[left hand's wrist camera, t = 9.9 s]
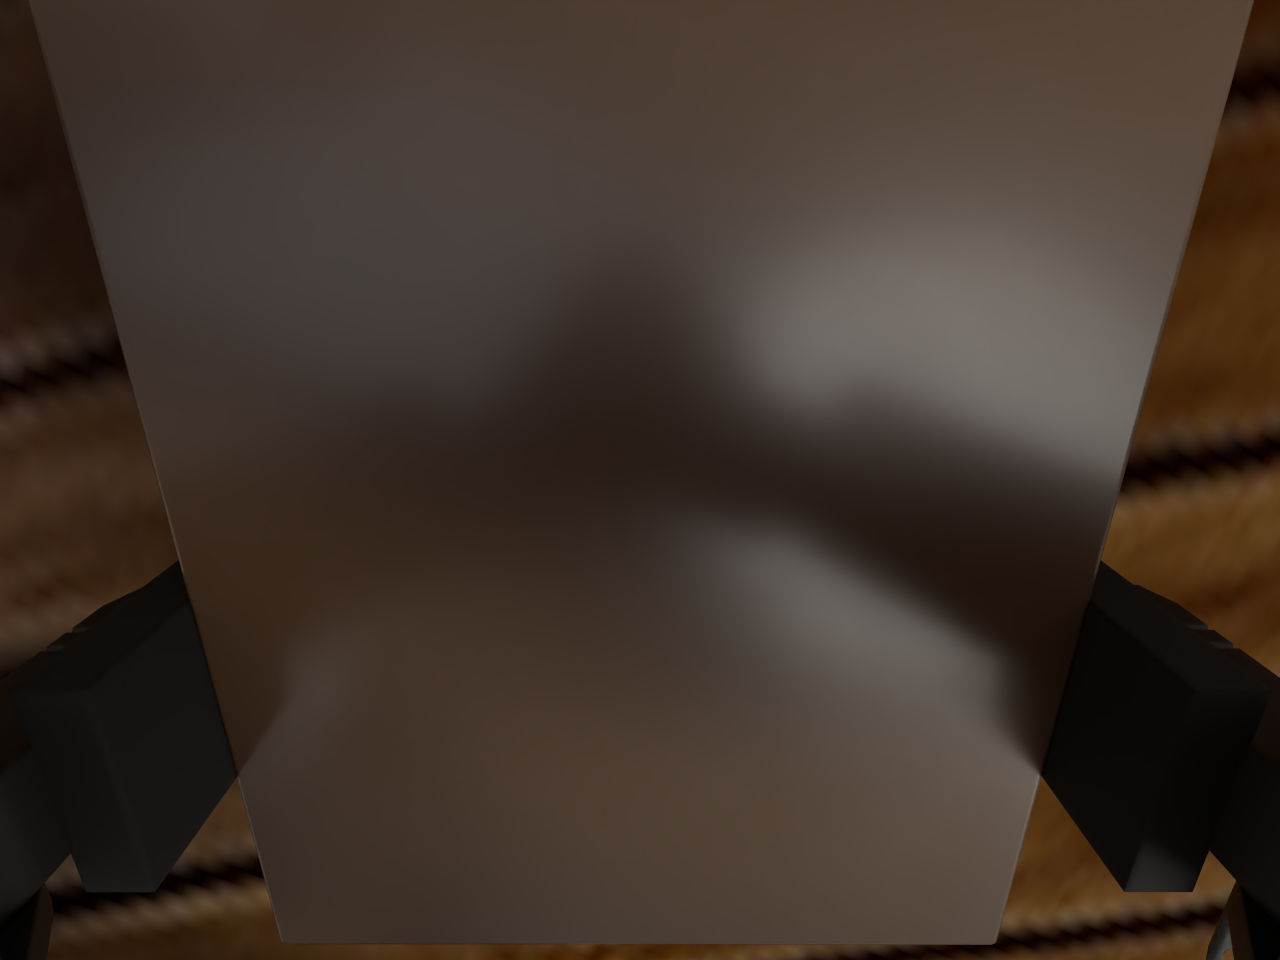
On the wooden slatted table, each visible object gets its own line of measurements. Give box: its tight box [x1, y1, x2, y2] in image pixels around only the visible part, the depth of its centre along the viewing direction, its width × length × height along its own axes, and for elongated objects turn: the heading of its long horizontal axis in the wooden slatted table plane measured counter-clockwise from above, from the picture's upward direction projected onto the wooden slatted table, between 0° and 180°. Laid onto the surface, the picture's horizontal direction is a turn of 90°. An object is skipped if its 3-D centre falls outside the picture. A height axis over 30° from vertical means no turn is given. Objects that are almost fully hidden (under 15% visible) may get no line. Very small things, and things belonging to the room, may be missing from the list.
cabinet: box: [28, 0, 1254, 945], centre depth 12 cm, size 18×11×10 cm, turn 0°
